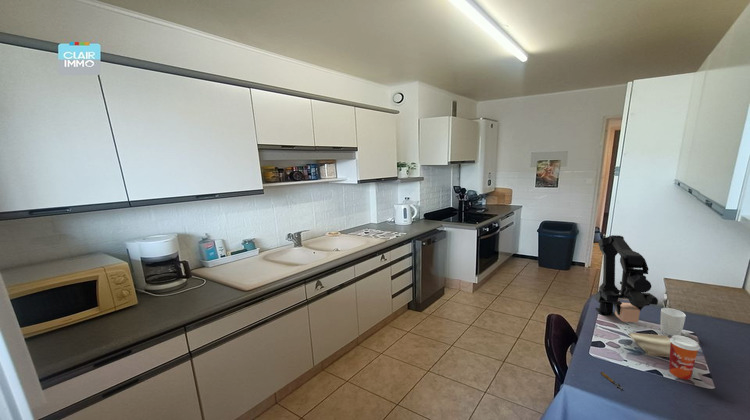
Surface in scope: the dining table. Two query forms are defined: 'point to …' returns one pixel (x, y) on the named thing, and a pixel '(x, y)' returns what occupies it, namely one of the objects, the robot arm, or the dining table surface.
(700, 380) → the dining table surface
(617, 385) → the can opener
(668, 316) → the white cup
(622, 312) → the terracotta cube
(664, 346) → the birch board
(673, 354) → the paper cup
